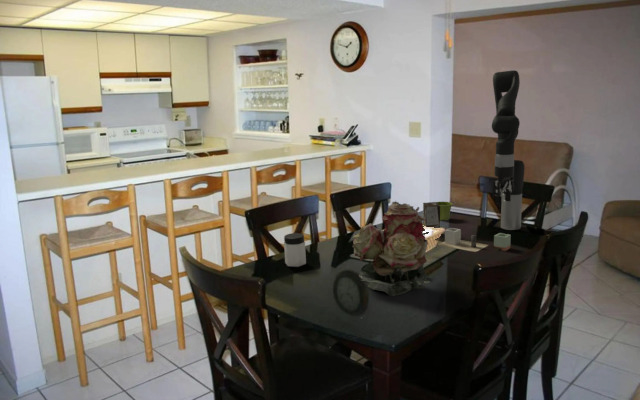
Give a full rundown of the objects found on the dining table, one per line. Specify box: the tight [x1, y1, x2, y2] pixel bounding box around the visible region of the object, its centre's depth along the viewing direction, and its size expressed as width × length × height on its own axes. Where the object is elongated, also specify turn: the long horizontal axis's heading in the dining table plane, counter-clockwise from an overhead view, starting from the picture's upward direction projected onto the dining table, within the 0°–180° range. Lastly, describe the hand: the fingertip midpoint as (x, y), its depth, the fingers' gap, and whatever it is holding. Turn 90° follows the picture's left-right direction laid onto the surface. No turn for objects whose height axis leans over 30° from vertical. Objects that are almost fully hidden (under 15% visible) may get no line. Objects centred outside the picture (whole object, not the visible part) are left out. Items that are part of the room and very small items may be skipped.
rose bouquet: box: [352, 201, 431, 297], centre depth 189 cm, size 26×29×30 cm
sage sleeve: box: [493, 232, 512, 252], centre depth 223 cm, size 5×5×6 cm
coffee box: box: [422, 201, 441, 229], centre depth 243 cm, size 9×6×16 cm
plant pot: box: [436, 201, 453, 222], centre depth 275 cm, size 9×9×9 cm
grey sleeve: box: [444, 227, 462, 245], centre depth 231 cm, size 5×5×6 cm
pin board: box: [437, 234, 489, 253], centre depth 227 cm, size 12×18×6 cm, turn 46°
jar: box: [283, 232, 307, 268], centre depth 216 cm, size 9×8×12 cm
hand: (503, 202), depth 220 cm, fingers open, 8 cm apart
